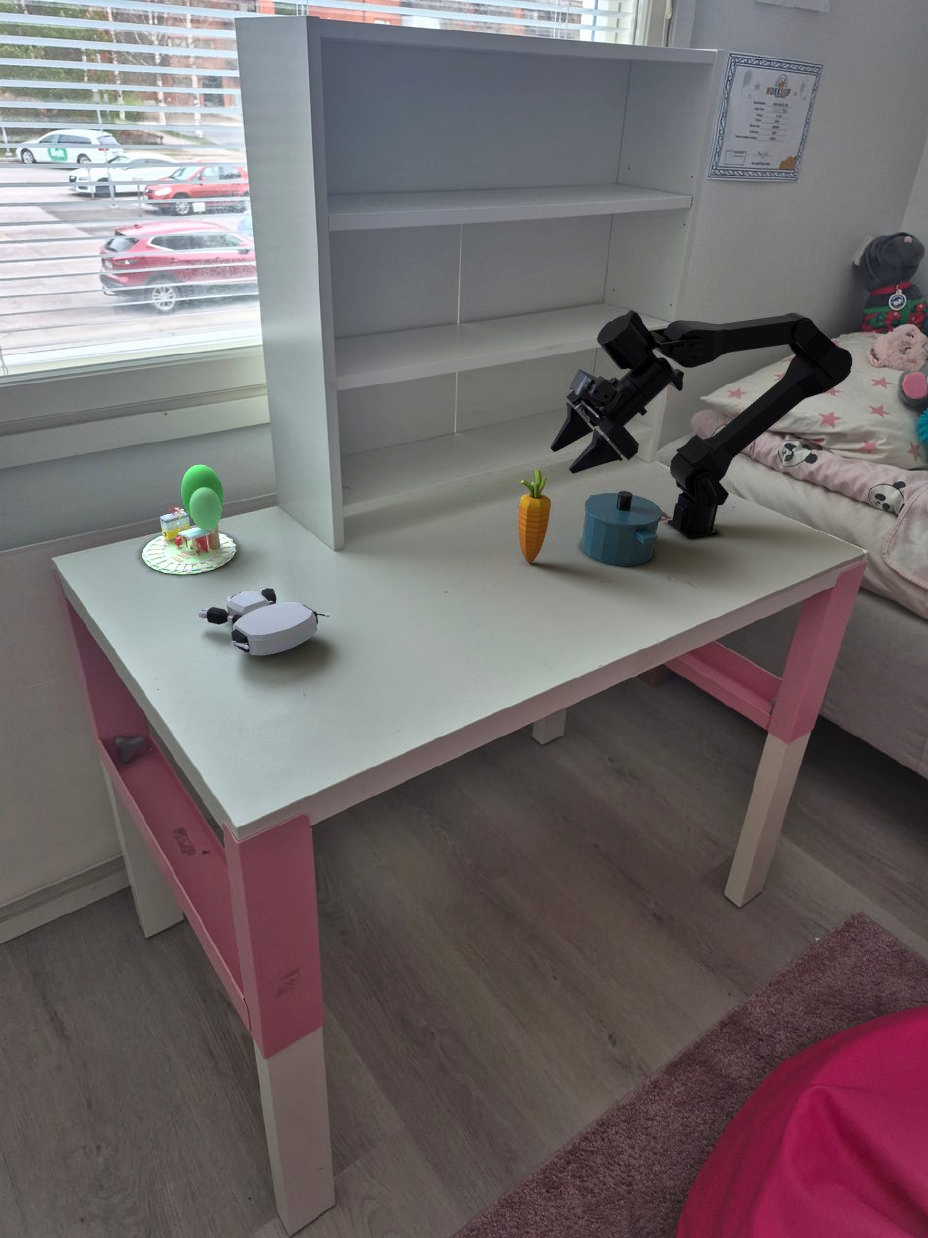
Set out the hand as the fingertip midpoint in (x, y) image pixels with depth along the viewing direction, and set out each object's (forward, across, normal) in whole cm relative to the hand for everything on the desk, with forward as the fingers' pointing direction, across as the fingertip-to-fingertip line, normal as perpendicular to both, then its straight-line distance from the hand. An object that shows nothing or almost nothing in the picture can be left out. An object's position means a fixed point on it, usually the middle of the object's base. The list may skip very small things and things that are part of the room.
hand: (561, 460), depth 137 cm
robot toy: (+43, +23, -24) cm, 55 cm away
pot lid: (-2, +6, +11) cm, 13 cm away
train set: (+50, -3, -32) cm, 60 cm away
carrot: (+14, +8, +5) cm, 17 cm away
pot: (+3, +6, +16) cm, 17 cm away
